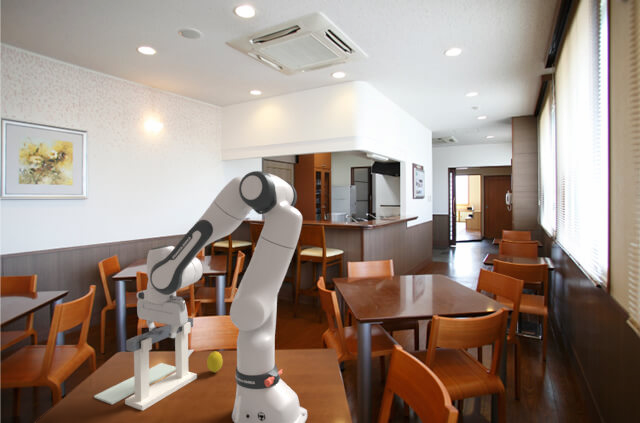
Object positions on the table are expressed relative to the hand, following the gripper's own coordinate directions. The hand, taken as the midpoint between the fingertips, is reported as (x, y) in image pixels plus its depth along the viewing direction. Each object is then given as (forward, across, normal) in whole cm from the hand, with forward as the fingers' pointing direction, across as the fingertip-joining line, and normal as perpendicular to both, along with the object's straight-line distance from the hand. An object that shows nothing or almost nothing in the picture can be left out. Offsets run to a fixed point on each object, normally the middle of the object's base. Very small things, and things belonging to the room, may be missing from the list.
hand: (162, 335), depth 119 cm
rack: (+19, 0, 0) cm, 19 cm away
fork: (+19, +11, -20) cm, 30 cm away
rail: (+1, 0, 0) cm, 1 cm away
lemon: (+19, -7, -17) cm, 26 cm away
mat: (+19, +12, 0) cm, 22 cm away
